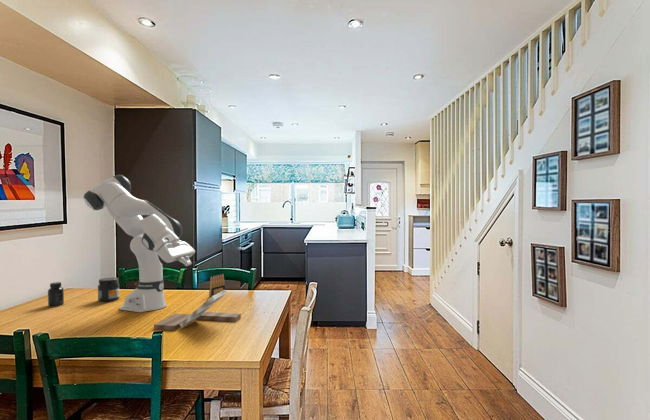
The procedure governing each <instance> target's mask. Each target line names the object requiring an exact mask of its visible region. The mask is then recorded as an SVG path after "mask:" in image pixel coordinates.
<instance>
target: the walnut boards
mask: <svg viewBox="0 0 650 420" xmlns="http://www.w3.org/2000/svg"><path fill="white" fill-rule="evenodd" d="M191 314H192V313H191ZM191 314H187V313H174V314H172V315H169V316H168V317H166V318H164V319H163V320H160V321H158V322H156V323H155V324H153V330H158V331H159V330H160V331H177V330H178V329H180V328H182V327H181V326H180V325H179V324H180V323H181V322H183V321H184V320H185V319H186V318H187V317H188V316H190V315H191ZM241 317H242V316H241V313H236V312H235V313H233V312H216V311H205V312H204V313H203V314H202V315H200V316H199V317H198V318H197V319H196V320H198V321H199V320H201V321H218V322H219V321H220V322H237V321H239V320H240V319H242V318H241Z"/></svg>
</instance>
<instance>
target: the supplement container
mask: <svg viewBox="0 0 650 420" xmlns="http://www.w3.org/2000/svg"><path fill="white" fill-rule="evenodd" d="M115 300H116V301H118V300H120V283H119V277H115V276H114V277H111V276H110V277H104V278H100V279H98V285H97V301H98V302H99V303H110V302H111V301H112V302H115ZM112 302H111V303H112Z"/></svg>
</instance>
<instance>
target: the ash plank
mask: <svg viewBox="0 0 650 420" xmlns="http://www.w3.org/2000/svg"><path fill="white" fill-rule="evenodd" d="M227 293H228V292H227V291H226V289H225V290H223V291H221V292H219V293H217V294H215V295H213V296H212V297H209V298H208V299H207V300H206V301H205V302H203V303H202V304H201V305H200V306H199V307H198V308H197V309H195V310H194V311H193V312H192V313H191V315H190V316H188V317H187V318H186V319H185V320H184V321H183V322H181V323H180V324H179V325H180V326H181V327H180V328H183V327H185V326H187V325H189V324H191V323H192V322H194V321H196V320H198V319H197V318H198V317H199V316H200V315H202V314H203V313H204V312H207V310H209V309H210V308H211V307H212V306H213V305H214V304H216V303H217V302H218V301H220V300H221V299H222V297H224V296H225V295H227Z"/></svg>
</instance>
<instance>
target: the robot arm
mask: <svg viewBox="0 0 650 420" xmlns="http://www.w3.org/2000/svg"><path fill="white" fill-rule="evenodd" d="M131 192H132V185H131V181H130V180H129V179H128V178H127V177H126V176H124V175H123V174H117V175H113V176H112V177H110V178H108V179H106V180H103V181H102V182H100V183H99V184H97V185H95V186H94V187H93V188H92V189H90V190H88V191H86V192H85V193H84V194H83V199H84V203H85V205H87V207H89V209H92V210H93V211H100V210H102V209H104V208H105V207H106V209H107V211H108V213H109V214H110V215H109V216H111V217H112V219H113V220H114V221H115V223H116V224H117V225H118V226H119V227H120V228H121V229H122V230H123V231H124V232H125V234H126V235H128V236H130V237H132V239H131V241H130V244H129V248H130V251H131V252H132V253H133V254H134V256H135V257H136V260H137V264H138V273H139V275H138V276H139V277H138V279H139V280H138V281H137V282H134V286H135V289H133V290H132V291H131V292H129V293H128V294H127V295H126V296H125V299H124V304H122V305H120V306H119V308H118V310H120V311H127V312H134V313H135V312H136V313H144V312H149V311H157V310H160V309H164V308H165V307H167V303H166V300H165V294H164V293H165V292H164V285H165V283H164V282H165V281H164V278H163V277H164V276H163V275H164V274H163V271H164V270H163V263H162V262H161V260H162V261H163V262H165V263H166V264H169V263H173V262H180V263H182V265H184V266H185V267H189V266H191V265H192V264H193V262H192V261H191V259H190V258H191V257H192V256H194V254H196V250H195V249H194V248H193V247H192V246H191V245H190V244H189V243H188V242H186V241H184V240H180V238H181V237H182V235H183V231H184V230H183V229H184V228H183V226H182V224H181V223H180V222H179V220H176V219H175V218H172V217H171V216H169V215H168V214H167V213H165V212H164V211H163V210H161V209H160V208H158V207H157V206H155V205H154V204H153V203H151V202H150V201H148V200H147V199H140V198H137V197H135V196H133V195H132V194H131ZM143 216H144V217H143ZM160 258H161V260H160Z"/></svg>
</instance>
